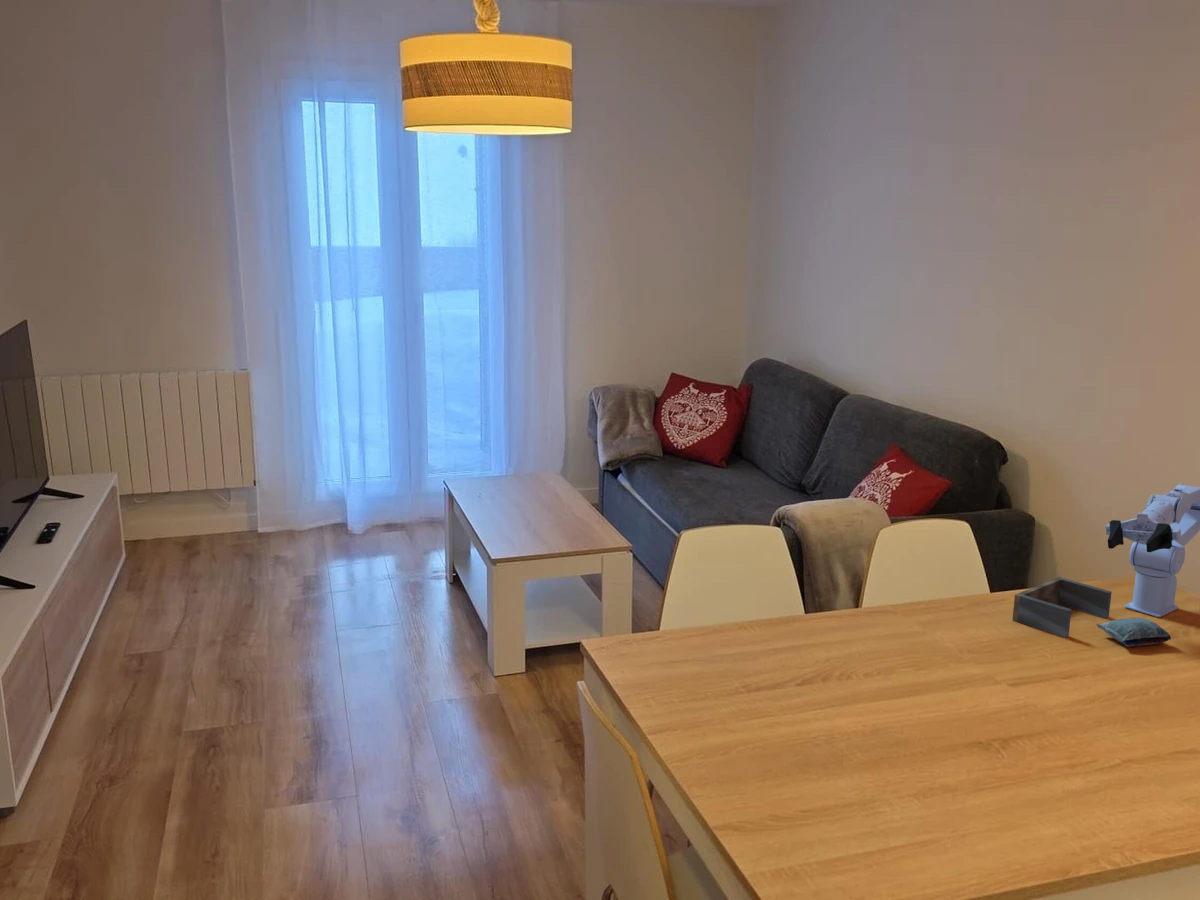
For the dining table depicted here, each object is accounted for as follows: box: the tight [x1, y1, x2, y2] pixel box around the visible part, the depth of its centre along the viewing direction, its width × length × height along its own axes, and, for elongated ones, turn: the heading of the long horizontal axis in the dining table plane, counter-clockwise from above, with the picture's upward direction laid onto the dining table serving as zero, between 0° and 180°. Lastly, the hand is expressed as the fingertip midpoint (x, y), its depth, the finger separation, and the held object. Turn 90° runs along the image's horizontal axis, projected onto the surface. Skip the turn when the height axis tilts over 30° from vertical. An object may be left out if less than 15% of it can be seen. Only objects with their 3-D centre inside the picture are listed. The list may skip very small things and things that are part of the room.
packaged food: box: [1096, 617, 1172, 648], centre depth 220 cm, size 9×12×5 cm
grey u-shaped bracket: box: [1011, 576, 1113, 638], centre depth 231 cm, size 19×12×6 cm, turn 128°
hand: (1128, 545), depth 219 cm, fingers open, 7 cm apart
